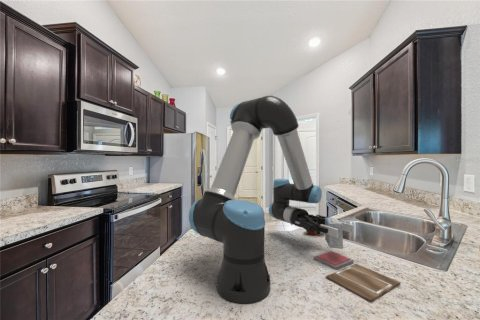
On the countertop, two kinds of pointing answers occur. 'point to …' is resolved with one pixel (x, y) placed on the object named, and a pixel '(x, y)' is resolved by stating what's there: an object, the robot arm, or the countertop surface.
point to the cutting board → (363, 282)
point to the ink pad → (333, 260)
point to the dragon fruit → (311, 232)
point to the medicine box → (334, 241)
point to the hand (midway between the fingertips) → (345, 231)
